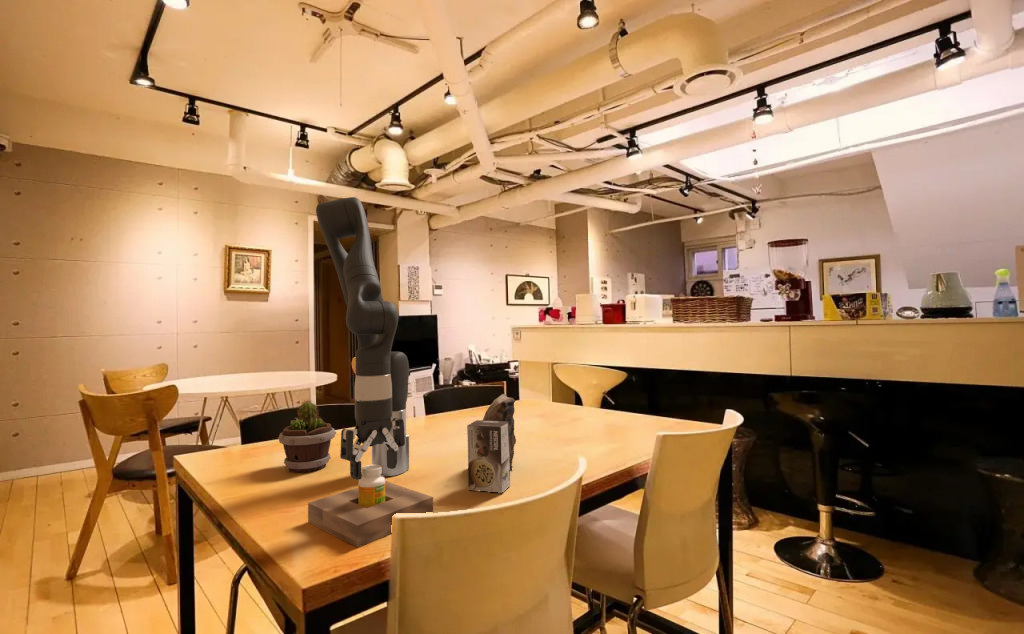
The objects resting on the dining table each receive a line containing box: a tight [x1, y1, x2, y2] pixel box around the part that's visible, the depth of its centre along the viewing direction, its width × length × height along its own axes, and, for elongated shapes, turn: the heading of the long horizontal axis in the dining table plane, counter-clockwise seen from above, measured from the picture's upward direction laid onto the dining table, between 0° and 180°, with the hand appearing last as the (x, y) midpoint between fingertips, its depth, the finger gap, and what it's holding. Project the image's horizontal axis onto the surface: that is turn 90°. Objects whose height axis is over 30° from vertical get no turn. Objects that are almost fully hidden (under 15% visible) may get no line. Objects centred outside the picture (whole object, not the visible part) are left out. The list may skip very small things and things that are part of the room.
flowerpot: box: [277, 399, 337, 473], centre depth 135 cm, size 14×15×20 cm
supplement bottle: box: [357, 464, 386, 508], centre depth 98 cm, size 5×5×10 cm
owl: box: [482, 393, 517, 472], centre depth 133 cm, size 13×13×20 cm
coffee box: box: [466, 419, 511, 494], centre depth 116 cm, size 9×6×16 cm
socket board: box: [307, 480, 434, 548], centre depth 98 cm, size 18×18×4 cm
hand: (374, 473), depth 98 cm, fingers open, 8 cm apart
